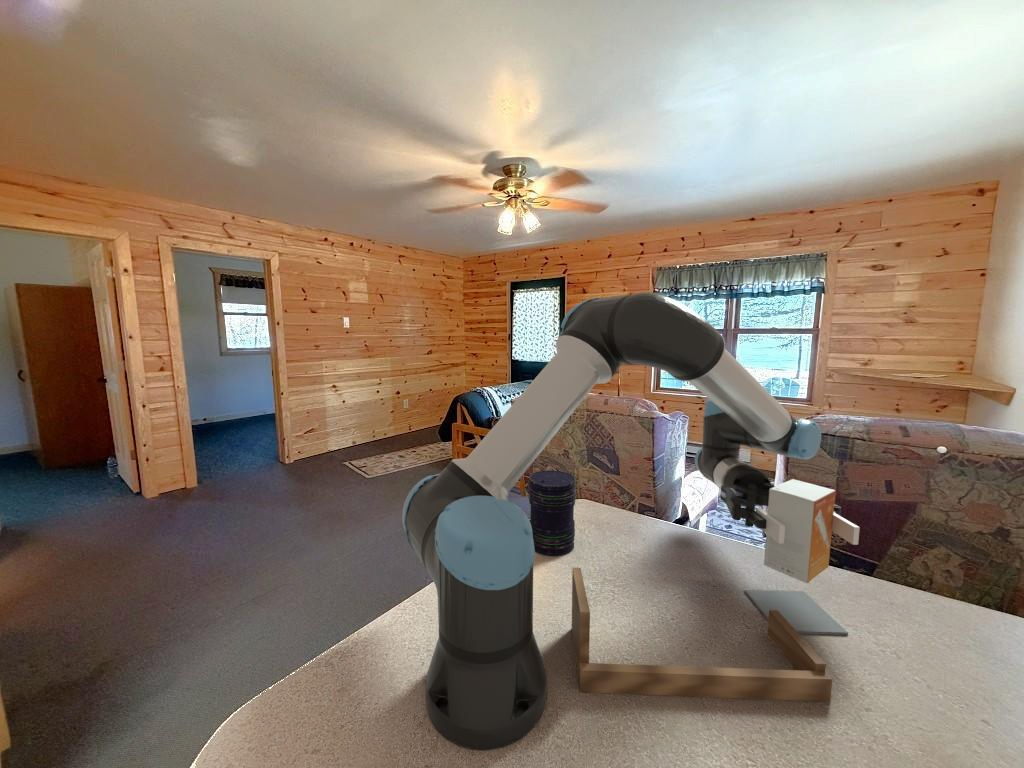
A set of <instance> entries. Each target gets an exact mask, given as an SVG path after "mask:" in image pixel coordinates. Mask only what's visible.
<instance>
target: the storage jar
mask: <svg viewBox="0 0 1024 768" xmlns="http://www.w3.org/2000/svg"><path fill="white" fill-rule="evenodd" d="M528 495H529V497H528V501H529V504H530V518H529V521H530V523H531V527H532V535H533V541H534V549H535V553H536V554H538V555H541V556H545V557H553V558H554V557H563V556H566V555H568V554H570V553H572V552H573V551H574V550H575V542H574V541H575V536H576V528H575V525H576V524H575V523H576V521H575V520H574V518H575V517H574V515H575V514H574V510H575V507H574V506H576V505H575V504H576V478H575V476H574V475H573V474H571V473H569V472H565V471H562V470H561V471H560V470H553V469H552V470H551V469H550V470H549V469H548V470H540V471H536V472H533V473H531V474H530V475H529V487H528Z"/></svg>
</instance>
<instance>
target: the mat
mask: <svg viewBox="0 0 1024 768" xmlns="http://www.w3.org/2000/svg"><path fill="white" fill-rule="evenodd" d="M744 593H745V594H746V595H747V596H748V598H749V599H750V600H751V601H752V603H754V605H755V606H756V607H757V608H758V609H759V611H760V612H761V614H763V616H764V617H765V618H766V619H767V620H769V610H778V611H779V613H780V614H781V615H782V616H783V617H784V618H785V619H786V620H787V621H788V623H789V624H790V625H791V626H792V627H793V628H794V629H795V630H796V631H797V632H798V634H799V635H800V634H801V635H803V634H804V635H805V634H806V635H832V636H833V635H835V636H837V635H838V636H848V635H849V632H848V631H847V630H846V629H845V628H844V627H843V626H842V625H841V624H840V623H839V622H837V620H836V619H834V618H833V617H832V616H831V615H830V614H829V613H828V612H826V610H825V609H823V607H822V606H820V605H819V604H818V603H817V602H816V601H815V600H814V599H813V598H811V597H810V596H809V595H808V593H806V592H805V590H773V589H772V590H771V589H768V590H767V589H744Z"/></svg>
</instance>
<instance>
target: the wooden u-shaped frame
mask: <svg viewBox="0 0 1024 768" xmlns="http://www.w3.org/2000/svg"><path fill="white" fill-rule="evenodd" d="M571 574H572V576H571V577H572V582H571V583H572V584H571V585H572V586H571V634H572V642H573V649H574V656H575V663H576V670H577V677H578V684H579V685H578V687H579V692H580V693H593V694H594V693H595V694H596V693H597V694H615V695H616V694H619V695H620V694H622V695H624V694H625V695H643V696H644V695H646V696H647V695H648V696H671V697H698V698H700V697H701V698H721V699H722V698H726V699H727V698H729V699H746V700H747V699H751V700H754V699H755V700H771V701H772V700H776V701H777V700H778V701H779V700H780V701H799V702H800V701H801V702H806V701H807V702H828V703H829V702H830V703H831V697H832V690H833V689H832V687H833V678H832V677H831V676H830V675H829V674H828V673H827V672H826V669H827V668H826V667H827V664H826V663H825V661H824V659H822V658H821V656H819V654H817V653H816V651H815V650H814V649H813V648H812V647H811V645H809V643H807V641H806V640H805V639H804V637H802V636H801V635H800V634H798V632H797V631H796V630H795V629H794V628H793V627H792V626H791V625H790V624H789V623H788V621H787V620H786V619H785V618H784V617H783V616H782V615H781V614H780V613H779V611H778V610H769V620H768V619H767V620H768V623H767V637H768V638H769V640H771V642H772V643H773V644H774V645H775V646H776V647H777V649H778V650H779V651H780V653H781V654H782V655H783V656H784V658H785V659H786V660H787V661H788V662H789V664H790V665H791V667H792V668H793V669H768V668H767V669H766V668H765V669H763V668H739V667H737V668H736V667H714V666H713V667H710V666H688V665H687V666H683V665H681V666H680V665H657V664H656V665H649V664H629V663H628V664H623V663H602V662H601V663H599V662H593V663H592V662H590V638H591V637H590V635H591V633H590V631H591V630H590V628H591V611H590V606H589V601H588V596H587V591H586V587H585V586H586V585H585V583H584V578H583V577H584V576H583V573H582V568H581V567H572V573H571Z"/></svg>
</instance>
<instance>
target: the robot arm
mask: <svg viewBox="0 0 1024 768" xmlns="http://www.w3.org/2000/svg"><path fill="white" fill-rule="evenodd" d="M560 328H561V332H559V334H560V335H559V337H558V338H557V339H556V340H555V347H556V354H555V355H554V356H553V357H552V358H551V359H550V360H549V361H548V363H547V364H546V365H545V366H544V367H543V368H542V369H541V371H540V372H539V373H538V374H537V376H535V378H534V379H533V380H532V382H531V383H530V384H529V385H528V386H527V387H526V388H525V389H524V391H523V392H522V393H521V394H520V395H519V396H518V398H517V399H515V401H513V403H512V405H511V406H510V407H509V408H508V409H507V410H506V412H505V413H504V414H503V415H502V417H501V418H500V419H498V421H497V422H496V423H495V425H494V426H493V427H492V428H491V429H490V430H489V431H488V433H486V435H485V436H484V437H483V438H482V440H481V441H480V442H479V443H478V444H477V445H476V446H475V448H474V449H473V450H472V451H471V452H470V454H468V455H467V456H466V457H464V458H456V459H455V458H454V459H452V460H451V461H450V462H448V464H447V465H446V466H445V468H444V469H443V470H442V471H441V472H440V473H437V474H433V475H427V476H426V477H424V478H422V479H421V480H420V481H418V482H417V483H416V484H414V485H413V487H412V488H411V489H410V491H409V492H408V494H407V495H406V497H405V499H404V500H405V501H404V503H403V508H402V512H401V513H402V515H401V516H402V517H401V519H402V520H401V521H402V526H403V529H404V533H405V536H406V539H407V543H408V544H409V545H410V547H411V548H412V550H413V551H414V552H415V553H416V556H418V558H419V560H420V562H421V563H422V565H423V567H424V568H425V570H426V571H427V573H428V574H429V576H430V578H431V580H432V582H433V583H434V586H435V588H436V593H437V614H438V615H437V617H438V639H437V641H436V645H435V647H434V651H433V654H432V658H431V661H430V663H429V666H428V670H427V674H426V679H425V705H426V706H425V707H426V711H427V715H428V717H429V719H430V721H431V723H432V725H433V726H434V728H435V729H436V730H437V731H438V732H439V734H441V735H442V736H443V737H444V738H445V739H447V740H449V741H450V742H452V743H454V744H456V745H458V746H460V747H461V746H462V747H464V748H469V749H473V750H490V749H491V750H492V749H496V748H501V747H505V746H507V745H510V744H511V743H514V742H516V741H518V740H520V739H521V738H523V737H524V736H525V735H526V734H528V733H529V732H530V731H531V730H533V728H534V726H536V724H537V723H538V721H539V720H540V718H541V716H542V715H543V712H544V711H545V707H546V702H547V693H548V692H547V690H548V687H547V686H548V685H547V683H548V682H547V680H548V677H547V671H546V666H545V663H544V660H543V657H542V654H541V652H540V648H539V645H538V643H537V640H536V637H535V634H534V631H533V630H534V625H533V624H534V560H535V556H536V554H535V553H536V552H535V549H534V541H533V535H532V527H531V523H530V521H529V520H530V518H529V516H528V515H527V514H526V513H525V511H524V510H523V509H522V508H521V507H520V506H518V505H516V504H515V503H513V502H512V501H509V493H510V491H511V490H512V489H513V488H514V486H515V485H516V484H517V483H518V481H519V480H520V479H521V478H522V477H523V475H524V474H525V473H526V471H528V469H529V468H530V467H531V465H532V464H533V462H534V461H535V460H536V459H537V458H538V456H539V455H541V453H542V451H543V450H544V449H545V448H546V446H548V444H549V443H550V442H551V440H552V439H553V438H554V436H555V435H556V434H557V432H559V430H560V429H561V428H562V426H563V425H564V424H565V423H566V422H567V420H568V419H569V417H571V415H572V414H573V413H574V412H575V411H576V409H577V408H578V407H579V405H580V404H581V403H582V402H583V401H584V400H585V398H586V397H587V395H589V393H590V392H591V390H592V389H593V388H594V386H595V385H599V384H607V383H609V382H610V381H611V380H612V378H614V376H615V374H617V372H618V371H619V369H621V367H622V366H623V365H628V366H630V365H632V366H633V365H634V366H644V367H645V366H646V367H650V368H655V369H659V370H661V371H664V372H666V373H668V374H669V375H670V376H672V377H673V378H674V379H676V380H678V381H681V382H688V383H690V384H691V385H692V386H693V387H694V388H696V389H697V390H698V391H699V392H700V393H701V394H703V395H704V396H705V397H706V398H707V399H706V400H705V403H704V413H703V416H702V419H703V420H702V421H703V424H702V444H701V447H700V448H699V449H698V450H697V452H696V454H695V455H694V465H695V467H696V469H697V470H698V471H699V473H700V474H701V475H702V477H704V478H706V480H708V481H710V482H712V483H714V484H715V486H716V487H718V489H720V493H719V494H720V497H719V499H720V500H721V501H723V502H724V503H725V505H726V507H727V509H728V511H729V514H730V517H731V518H732V519H733V520H734V521H741V519H744V520H745V521H744V525H745V526H747V527H751V528H752V527H754V526H755V527H756V528H758V529H761V530H762V531H763V532H764V533H765V534H766V533H767V534H768V535H769V536H770V537H772V538H773V539H774V540H775V541H776V542H778V543H779V544H784V535H785V526H784V525H783V524H781V523H780V522H779V521H777V520H776V519H775V518H773V517H772V516H771V515H769V514H768V511H765V510H764V509H763V508H762V507H761V506H766V507H768V502H769V489H770V488H773V487H775V485H774V484H772V483H771V481H770V479H769V477H768V476H767V475H766V474H765V473H764V472H762V471H760V470H759V469H758V468H755V467H754V466H752V465H751V464H749V463H747V462H745V461H743V460H742V459H741V458H740V451H741V446H743V447H747V448H750V449H751V448H752V449H756V450H760V451H764V452H767V453H773V454H776V455H780V456H784V457H787V458H795V459H800V460H810V459H812V458H813V457H815V455H816V454H817V453H818V451H819V449H820V447H821V442H822V430H821V428H820V425H819V424H818V423H817V422H815V421H813V420H809V419H805V418H804V417H803V418H802V417H801V418H800V417H794V416H793V415H792V414H791V413H790V412H789V411H788V410H786V409H785V407H783V406H782V404H780V402H779V400H777V399H776V398H775V397H774V396H773V395H772V394H771V393H770V392H769V391H767V389H765V387H764V386H763V385H762V384H761V383H760V382H759V381H758V380H757V379H756V378H755V377H754V376H753V375H752V374H751V373H750V372H749V371H748V370H747V369H746V368H745V367H744V366H743V365H742V364H741V363H740V362H739V361H738V360H737V358H735V357H734V356H733V355H732V354H731V353H730V352H729V351H728V350H727V349H726V340H725V338H724V336H723V335H722V334H721V333H720V332H719V330H717V329H716V328H715V327H714V326H713V325H712V324H711V323H710V322H708V320H707V319H706V318H704V317H702V316H701V315H700V314H698V312H696V311H694V310H693V309H692V308H690V307H688V306H686V305H685V304H683V303H681V302H679V301H677V300H676V299H673V298H671V297H669V296H666V295H662V294H659V293H654V292H646V291H645V292H637V293H636V292H635V293H632V294H624V295H617V296H607V297H606V296H605V297H593V298H590V299H587V300H584V301H581V302H579V303H577V304H576V305H574V306H573V307H572V308H570V310H569V311H568V312H566V314H565V316H564V318H563V319H562V322H561V325H560ZM757 506H760V507H757ZM841 512H842V507H841V506H840V505H837V504H835V503H834V513H833V523H832V533H834V534H835V535H837V536H839V537H840V538H841V539H843V540H845V541H846V542H848V543H849V544H851V545H855V546H856V545H859V539H860V530H861V529H860V526H858V525H857V524H855V523H853V522H851V521H850V520H848V519H846V518H844V517H843V516H841Z"/></svg>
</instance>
